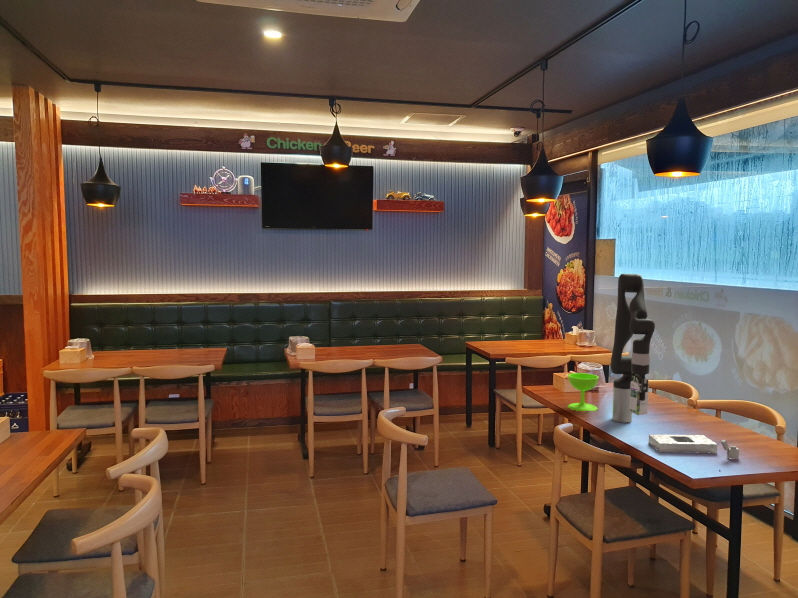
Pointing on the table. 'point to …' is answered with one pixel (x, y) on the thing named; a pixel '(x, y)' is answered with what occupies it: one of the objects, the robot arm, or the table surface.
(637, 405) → the syrup box
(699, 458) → the table surface
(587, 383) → the wineglass
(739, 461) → the table surface
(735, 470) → the table surface
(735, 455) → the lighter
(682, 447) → the white flat block
